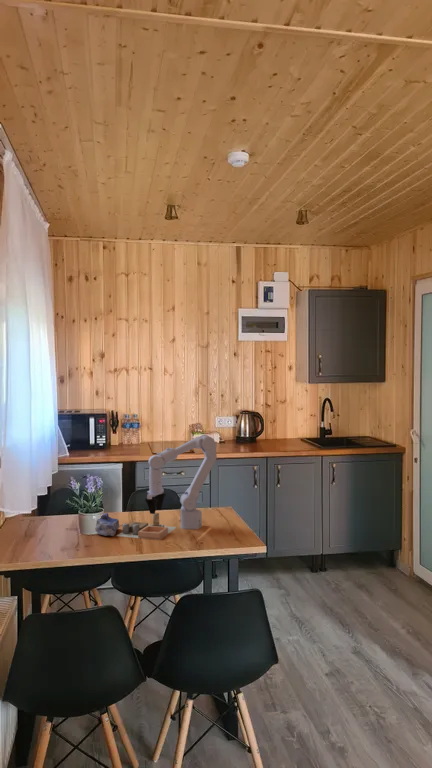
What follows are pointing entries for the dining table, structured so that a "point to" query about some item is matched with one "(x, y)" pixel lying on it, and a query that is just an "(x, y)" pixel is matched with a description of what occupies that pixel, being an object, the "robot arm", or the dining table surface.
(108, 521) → the mineral
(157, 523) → the dowel
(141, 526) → the square tan tile
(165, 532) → the tray
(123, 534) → the jig board
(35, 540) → the dining table surface
